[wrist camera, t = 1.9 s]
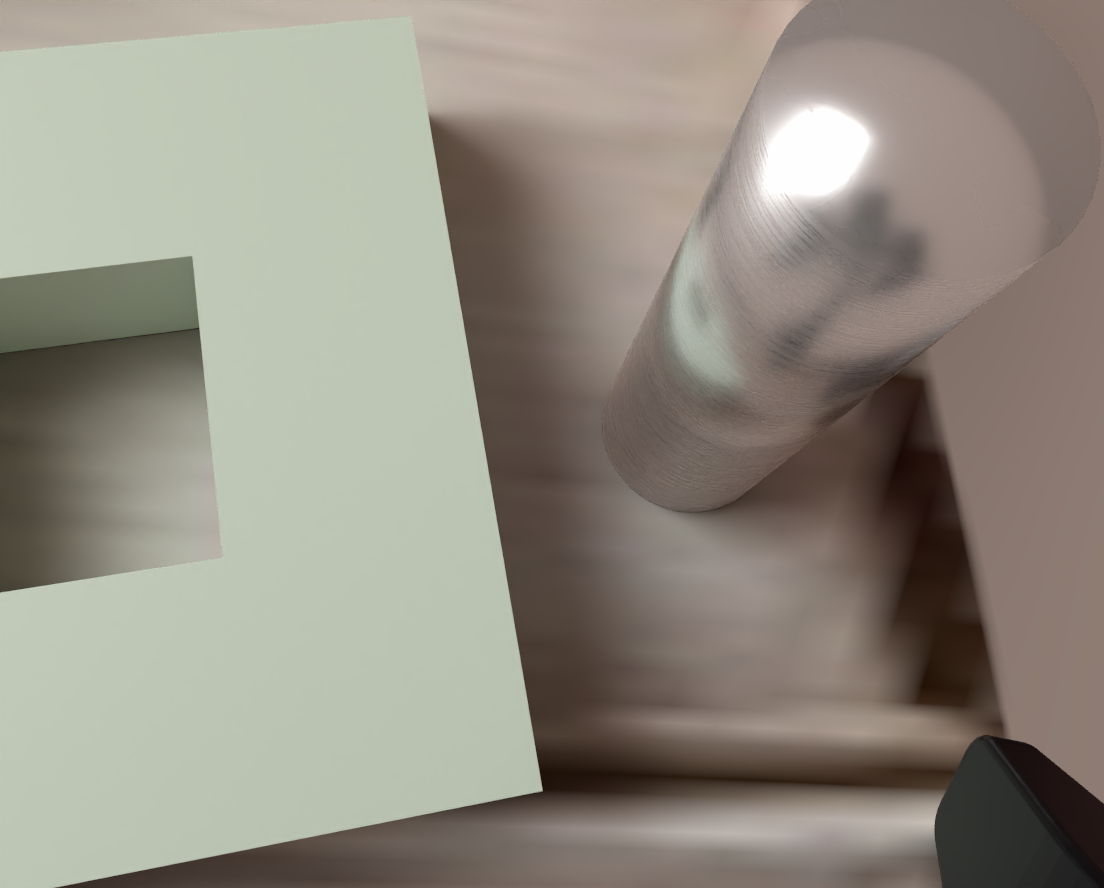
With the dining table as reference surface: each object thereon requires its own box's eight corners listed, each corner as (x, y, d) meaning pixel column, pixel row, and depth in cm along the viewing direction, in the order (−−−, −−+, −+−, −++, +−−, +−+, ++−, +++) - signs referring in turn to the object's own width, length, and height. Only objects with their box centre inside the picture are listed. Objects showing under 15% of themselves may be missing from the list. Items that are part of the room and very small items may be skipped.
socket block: (527, 780, 21) (542, 790, 18) (-317, 946, 19) (-482, 993, 16) (416, 111, 25) (411, 15, 22) (-294, 182, 23) (-421, 88, 20)
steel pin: (789, 497, 23) (1146, 256, 11) (621, 525, 23) (810, 301, 11) (750, 336, 24) (1041, -41, 12) (587, 358, 24) (728, -14, 12)
